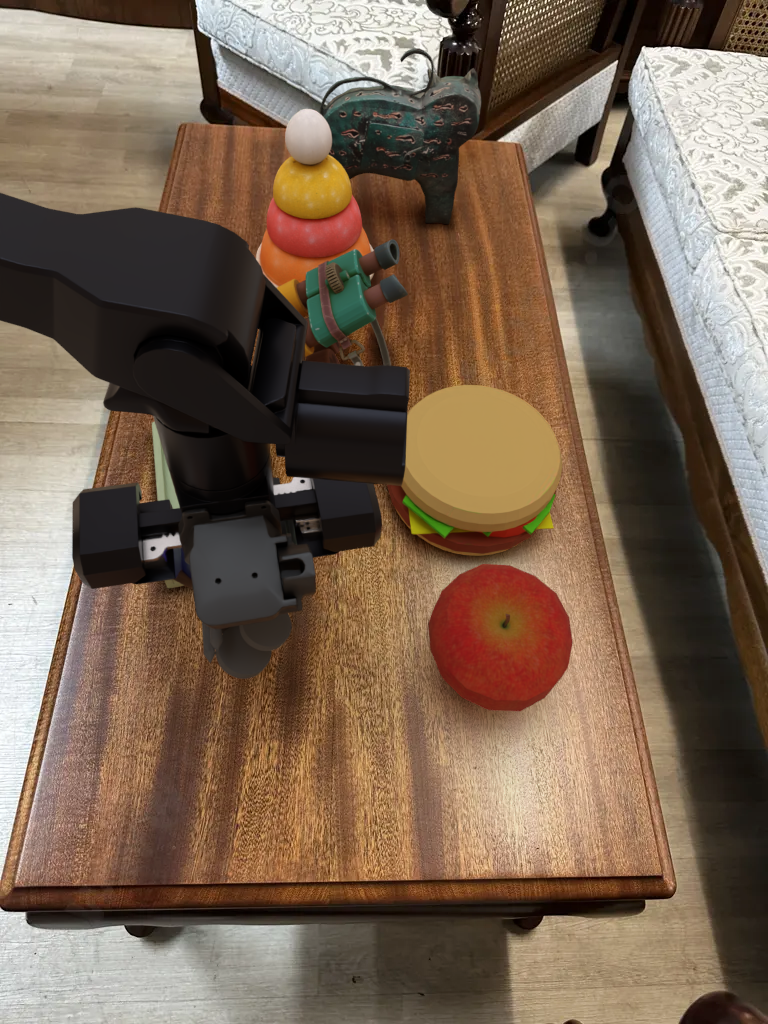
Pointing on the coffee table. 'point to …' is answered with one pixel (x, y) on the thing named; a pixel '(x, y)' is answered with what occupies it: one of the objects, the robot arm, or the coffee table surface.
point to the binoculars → (344, 302)
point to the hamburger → (477, 470)
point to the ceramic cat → (406, 132)
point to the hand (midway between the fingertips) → (242, 577)
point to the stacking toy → (309, 206)
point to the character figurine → (247, 641)
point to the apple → (500, 637)
